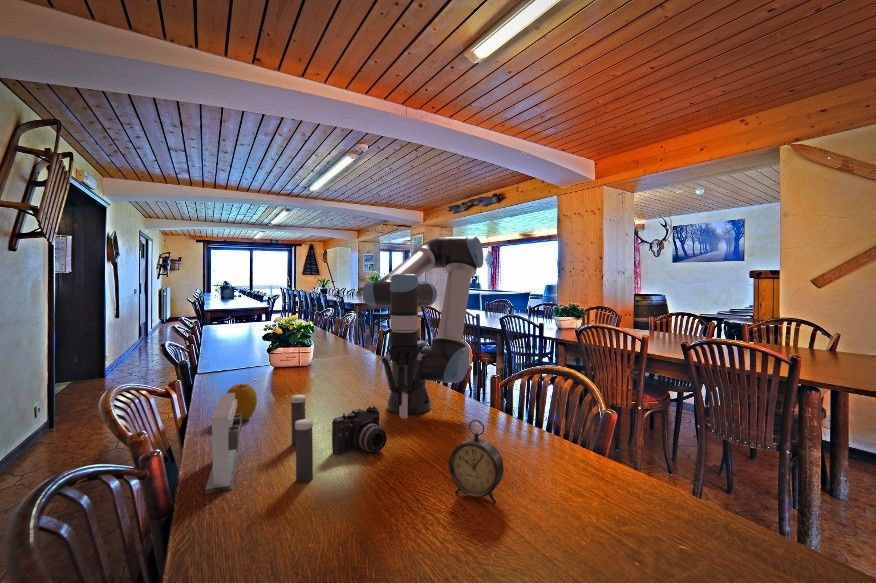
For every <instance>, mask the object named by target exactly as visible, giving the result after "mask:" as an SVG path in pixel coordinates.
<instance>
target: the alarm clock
mask: <svg viewBox="0 0 876 583" xmlns="http://www.w3.org/2000/svg"><path fill="white" fill-rule="evenodd" d="M474 422H477V423H479V424H480V425H481V426H482V430H481V432H480V433H478V432H473V431H472V428H471V425H472V423H474ZM468 429H469V431H470V432H471V434H473V436H474V437H472V438H469V439H466V440H464V441H462V442H461V443H460V444H458V445H457V446H455V448H454V449H453V450H452V451H451V453H450V456H449V458H448V459H449V460H448V470H449V475H450V478H451V480H452V481H453V483H454V485H455V486H456V488H457V489H456V490H455V491H454V493H455V494H456V495H458V494H459V492H460V491H461V492H462V493H464V494H465V495H466V496H469V497H472V498H484V497H486V496H489V498H490V500H491V501H492V503H493V504H494V505H495V504H496V503H497V501H496V499H495V497H494V494H493V491H494V490H495V489H496V488H497V486H498V485H499V484H500V483H501V481H502V479H503V476H504V471H505V470H504V469H505V468H504V462H503V457H502V456H501V454H500V452H499V450H498V449H497V448H496V447H495V446H494V445H493V444H492V443H491V442H489V441H488V440H486V439H483V438H481V437H479V436H482V435H483V434H484V432H485V426H484V424H483V422H482V421H480V420H479V419H472V420H471V421H470V422H469V424H468Z"/></svg>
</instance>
